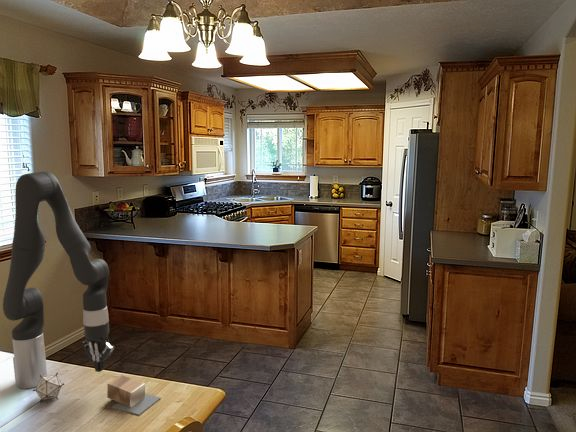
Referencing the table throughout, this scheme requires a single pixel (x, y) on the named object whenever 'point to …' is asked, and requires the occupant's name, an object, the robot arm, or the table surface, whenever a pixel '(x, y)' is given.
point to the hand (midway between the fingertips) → (99, 370)
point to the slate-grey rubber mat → (138, 405)
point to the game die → (48, 387)
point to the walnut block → (126, 391)
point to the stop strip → (110, 404)
